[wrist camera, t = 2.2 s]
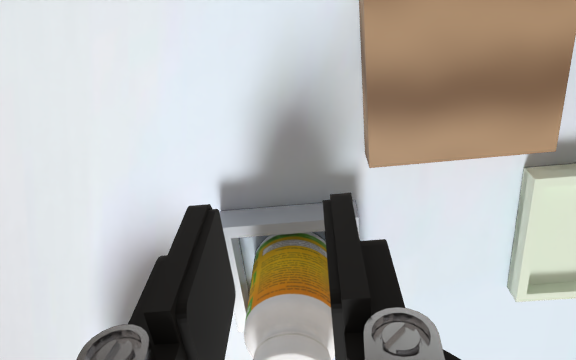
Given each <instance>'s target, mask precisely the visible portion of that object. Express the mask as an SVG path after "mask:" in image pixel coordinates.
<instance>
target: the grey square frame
mask: <svg viewBox="0 0 576 360" xmlns="http://www.w3.org/2000/svg"><path fill="white" fill-rule="evenodd" d="M352 202H353V207H354V212H355V218H356V223H357V228H358V233H359V216H358V211H357V206H356V201H355V200H352ZM220 217H221V222H222V227H223V232H224V236H225V241H226V246H227V251H228V256H229V260H230V265H231V270H232V275H233V279H234V284H235V291H236V298H235V305H234V310H233V311H234V315H235V320H236V325H237V329H238V332H244V328H245V320H246V314H247V307H248V300H249V291H248V285H247V280H246V275H245V270H244V265H243V259H242V254H241V249H240V244H239V239H238V238H241V237H254V236H268V235H281V234H294V233H307V232H320V231H325V226H324V213H323V203H313V204H301V205H289V206H276V207H264V208H251V209H239V210H226V211H221V212H220ZM359 239H360V234H359Z"/></svg>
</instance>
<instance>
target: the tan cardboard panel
mask: <svg viewBox="0 0 576 360" xmlns="http://www.w3.org/2000/svg"><path fill="white" fill-rule="evenodd" d="M359 11H360V36H361V62H362V88H363V114H364V139H365V154H366V158H367V161H368V164H369V168H375V167H386V166H397V165H408V164H419V163H431V162H442V161H453V160H464V159H475V158H487V157H498V156H509V155H520V154H532V153H543V152H554V151H556V147H557V141H558V135H559V129H560V124H561V118H562V112H563V106H564V100H565V94H566V88H567V82H568V76H569V71H570V65H571V59H572V53H573V47H574V41H575V35H576V0H359Z"/></svg>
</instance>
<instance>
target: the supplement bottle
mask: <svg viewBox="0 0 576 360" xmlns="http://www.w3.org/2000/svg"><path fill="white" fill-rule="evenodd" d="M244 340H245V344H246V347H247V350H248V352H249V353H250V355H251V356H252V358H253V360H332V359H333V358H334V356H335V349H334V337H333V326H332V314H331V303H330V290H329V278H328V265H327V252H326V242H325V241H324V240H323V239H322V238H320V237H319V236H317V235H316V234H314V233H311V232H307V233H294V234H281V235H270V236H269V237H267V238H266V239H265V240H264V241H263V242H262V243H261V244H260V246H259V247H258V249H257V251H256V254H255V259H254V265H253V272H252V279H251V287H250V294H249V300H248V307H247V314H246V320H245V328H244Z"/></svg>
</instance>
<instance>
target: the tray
mask: <svg viewBox="0 0 576 360" xmlns="http://www.w3.org/2000/svg"><path fill="white" fill-rule="evenodd" d="M507 288H508V289H509V291H510V293H511V294H512V296H513V298H514V300H515V301H516V302H524V301H540V300H556V299H572V298H576V164H564V165H552V166H540V167H528V168H524V170H523V178H522V185H521V192H520V199H519V206H518V213H517V220H516V227H515V234H514V241H513V248H512V255H511V262H510V269H509V276H508V283H507Z"/></svg>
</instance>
